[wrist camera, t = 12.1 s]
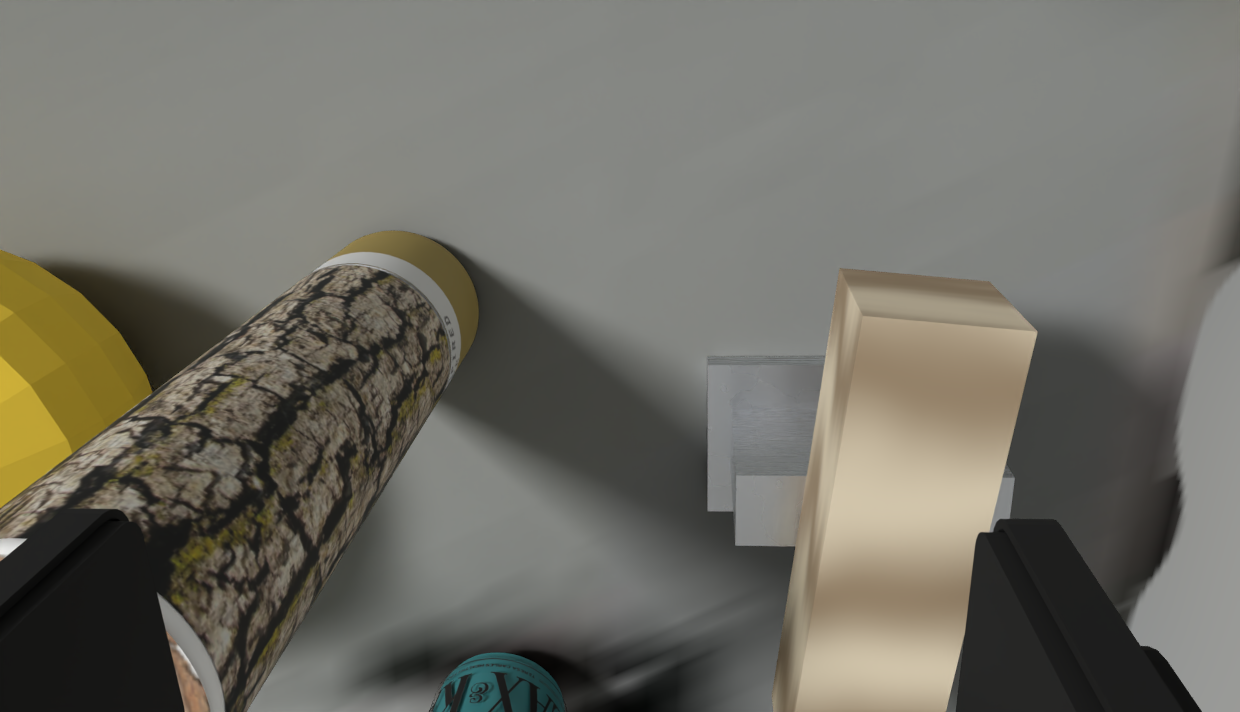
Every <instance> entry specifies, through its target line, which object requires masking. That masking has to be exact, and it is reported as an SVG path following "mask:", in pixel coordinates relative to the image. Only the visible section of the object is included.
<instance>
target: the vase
mask: <svg viewBox="0 0 1240 712" xmlns="http://www.w3.org/2000/svg"><path fill="white" fill-rule="evenodd" d="M151 393H152V390H151V387H150V384H149V381H148V378H147V375H146V374H145V372H144V370H143V369H142V367H141V365H140V364H139V362H138V361H137V359H136V358H135V356H134V354H133V353H132V351H131V350H130V348H129V347H128V345H127V343H126V342H125V340H124V339H123V337H122V336H121V334H120V332H119V331H118V330H117V329H116V328H115V327H114V326H113V325H112V324H111V323H110V322H109V321H108V320H107V319H106V318H105V317H104V316H103V315H102V314H101V313H100V312H99V311H98V310H97V309H96V308H95V307H94V306H93V305H92V304H91V303H90V302H89V301H88V300H87V299H86V298H85V297H84V296H83V295H82V294H81V293H80V292H78V291H77V290H75V289H74V288H72V287H71V286H69V285H68V284H66V283H65V282H63V281H61V280H60V279H58V278H57V277H55V276H54V275H52V274H51V273H49V272H48V271H46V270H45V269H43V268H42V267H40V266H39V265H37V264H36V263H34V262H31V261H28V260H26V259H23V258H21V257H18V256H15V255H13V254H10V253H8V252H5V251H2V250H0V508H1V507H2V506H4V505H5V504H6V503H8V502H9V501H10V500H12V499H13V498H14V497H16V496H17V495H18V494H19V493H21V492H22V491H23V490H25V489H26V488H27V487H29V486H30V485H31V484H33V483H34V482H35V481H37V480H38V479H39V478H41V477H42V476H43V475H45V474H46V473H47V472H49V471H50V470H51V469H52V468H54V467H55V466H56V465H58V464H59V463H60V462H62V461H63V460H64V459H66V458H67V457H68V456H70V455H71V454H72V453H74V452H75V451H76V450H78V449H79V448H80V447H81V446H83V445H84V444H85V443H87V442H88V441H89V440H91V439H92V438H93V437H95V436H96V435H97V434H99V433H100V432H101V431H103V430H104V429H105V428H107V427H108V426H109V425H111V424H112V423H113V422H114V421H116V420H117V419H118V418H120V417H121V416H122V415H124V414H125V413H126V412H128V411H129V410H130V409H132V408H133V407H134V406H136V405H137V404H138V403H140V402H141V401H142V400H143V399H145V398H146V397H147V396H149V395H150V394H151Z"/></svg>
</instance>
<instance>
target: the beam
mask: <svg viewBox="0 0 1240 712" xmlns="http://www.w3.org/2000/svg"><path fill="white" fill-rule="evenodd" d="M1036 337H1037V331H1036V330H1035V328H1034V327H1033V326H1032V325H1031V324H1030V323H1029V322H1028V321H1027V320H1026V319H1025V318H1024V317H1023V316H1022V315H1021V314H1020V313H1019V312H1018V311H1017V310H1016V309H1015V308H1014V307H1013V306H1012V304H1011V303H1010V302H1009V301H1008V300H1007V299H1006V298H1005V297H1004V296H1003V295H1002V294H1001V293H1000V292H999V291H998V290H997V289H996V288H995V287H994V286H993V285H992V284H991V283H990V282H989V281H978V280H966V279H955V278H944V277H932V276H921V275H910V274H898V273H887V272H876V271H865V270H853V269H842V268H840V270H839V276H838V282H837V288H836V295H835V301H834V307H833V314H832V320H831V326H830V332H829V339H828V345H827V351H826V358H825V364H824V370H823V377H822V383H821V389H820V395H819V402H818V408H817V414H816V421H815V427H814V433H813V440H812V446H811V452H810V458H809V465H808V471H807V477H806V484H805V490H804V496H803V503H802V509H801V515H800V521H799V528H798V534H797V540H796V547H795V553H794V559H793V565H792V572H791V578H790V584H789V591H788V597H787V603H786V610H785V616H784V622H783V628H782V635H781V641H780V647H779V654H778V660H777V666H776V673H775V679H774V685H773V691H772V702H773V711H774V712H946V709H947V705H948V700H949V696H950V692H951V688H952V684H953V680H954V676H955V671H956V667H957V663H958V659H959V655H960V651H961V647H962V643H963V638H964V634H965V628H966V619H967V611H968V602H969V593H970V585H971V576H972V567H973V559H974V550H975V543H976V539H977V536H978V534H979V533H980V532H989V531H990V527H991V523H992V519H993V514H994V510H995V506H996V502H997V498H998V494H999V490H1000V485H1001V481H1002V477H1003V473H1004V469H1005V465H1006V461H1007V457H1008V452H1009V448H1010V444H1011V440H1012V436H1013V432H1014V428H1015V423H1016V419H1017V415H1018V411H1019V407H1020V403H1021V399H1022V395H1023V390H1024V386H1025V382H1026V378H1027V374H1028V370H1029V366H1030V361H1031V357H1032V353H1033V349H1034V345H1035V341H1036Z"/></svg>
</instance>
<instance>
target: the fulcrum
mask: <svg viewBox="0 0 1240 712" xmlns="http://www.w3.org/2000/svg"><path fill="white" fill-rule="evenodd" d="M825 358H826V357H708V436H707V507H708V511H733V517H734V533H735V546H796V540H797V534H798V528H799V521H800V515H801V509H802V503H803V496H804V490H805V484H806V477H807V471H808V465H809V458H810V452H811V446H812V440H813V433H814V427H815V421H816V414H817V408H818V402H819V395H820V389H821V383H822V377H823V370H824V364H825ZM1014 481H1015V477H1014V476H1013V474H1012V472H1011V471H1010V469H1009V468H1008V466H1007V465H1005V469H1004V473H1003V477H1002V481H1001V485H1000V490H999V494H998V498H997V502H996V506H995V510H994V514H993V519H992V523H991V527H990V531H989V532H993V530H994V527H995V524H996V522H997V521H998V520H999V519H1010V512H1011V504H1012V497H1013V489H1014Z"/></svg>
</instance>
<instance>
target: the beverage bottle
mask: <svg viewBox="0 0 1240 712" xmlns="http://www.w3.org/2000/svg"><path fill="white" fill-rule="evenodd" d="M450 673H451V672H450ZM450 673H449V674H450ZM449 674H448V675H449ZM448 675H447V676H448ZM447 676H446V677H447ZM446 677H445V678H446ZM445 678H444V679H445ZM441 683H442V682H441ZM439 686H440V685H439ZM440 687H441V686H440ZM438 688H439V687H438ZM438 690H439V689H438ZM438 694H439V696H438V698H437V700H436V702H435V704H434V706H433V707H430V709H432V708H433V709H432V711H433V712H565V708H564V703H565V702H564V699H563V697H562V693H561V691H560V688H559V687H558V685H557V683H556V681H555V680H554V679H553V678H552V676H551V675H550V674H549V673H548V672H547V671H546V670H544V669H543V668H542V667H541V666H539V665H538V664H536V663H535V662H533V661H531V660H529V659H526V658H524V657H521V656H518V655H514V654H508V653H486V654H481V655H477V656H474V657H472V658H470V659H468V660H466V661H464V662H463V663H462V664H460V665H459V666H458V667H457V668H456V669H454V670H453V671H452V673H451V674H450V675H449V676H448V678H447V679H446V680H445V682H444V683H443V686H442V688H441V691H440V692H439V693H438ZM435 695H436V694H435ZM434 700H435V699H434ZM432 703H433V702H432ZM432 705H433V704H432ZM432 705H431V706H432ZM565 706H566V704H565ZM566 710H567V708H566ZM430 711H431V710H429V712H430Z"/></svg>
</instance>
